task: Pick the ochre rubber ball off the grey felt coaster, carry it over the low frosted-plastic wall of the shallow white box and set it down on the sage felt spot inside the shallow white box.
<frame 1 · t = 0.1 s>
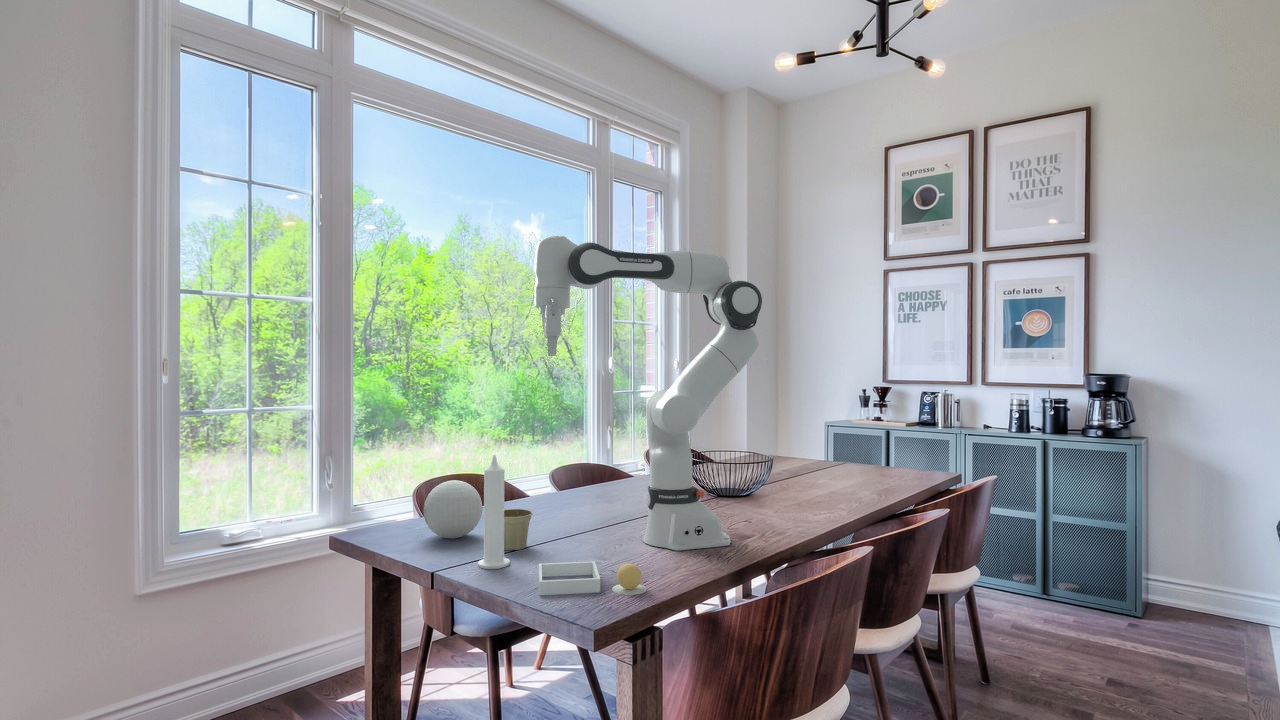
hand: (552, 355, 168), 48 cm above the table, fingers open, 8 cm apart
shallow white box: (568, 585, 137), on the table
decorative object: (453, 538, 175), on the table
coaster: (629, 590, 134), on the table
flower pot: (513, 548, 166), on the table
candle: (493, 565, 152), on the table
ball: (629, 588, 134), resting on coaster
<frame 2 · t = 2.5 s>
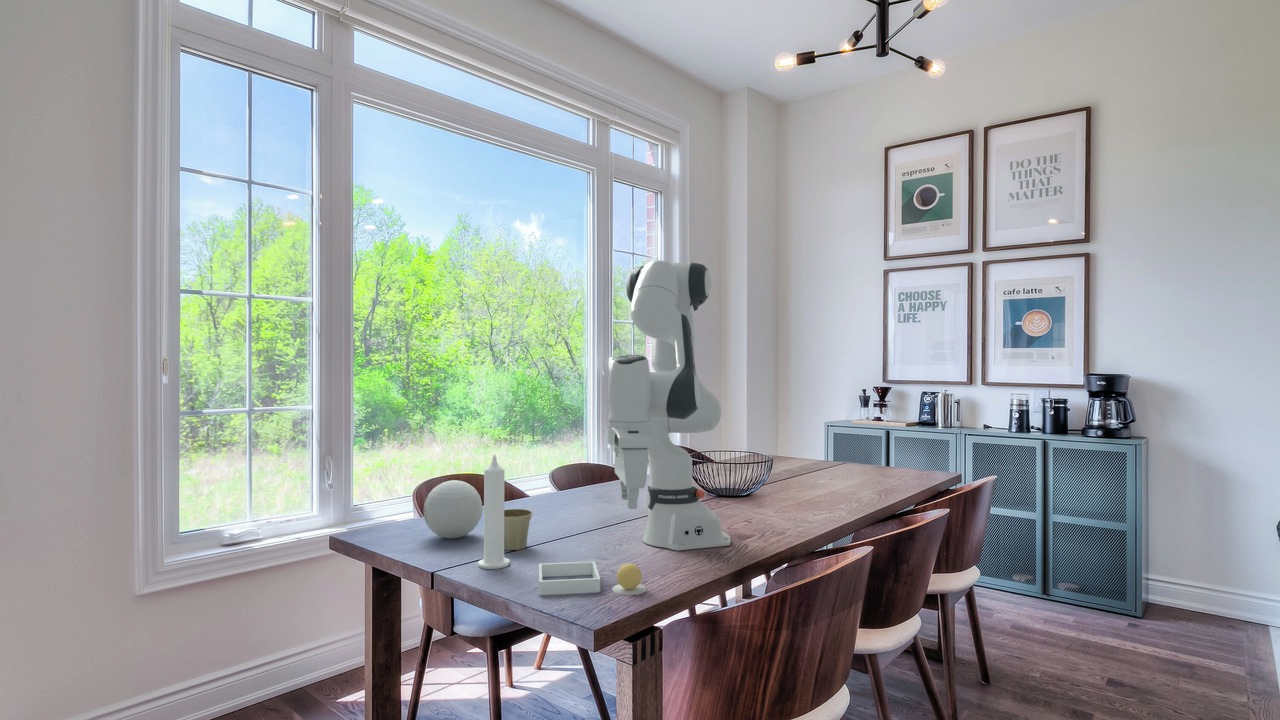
hand: (628, 503, 135), 18 cm above the table, fingers open, 8 cm apart
nothing on the table moved.
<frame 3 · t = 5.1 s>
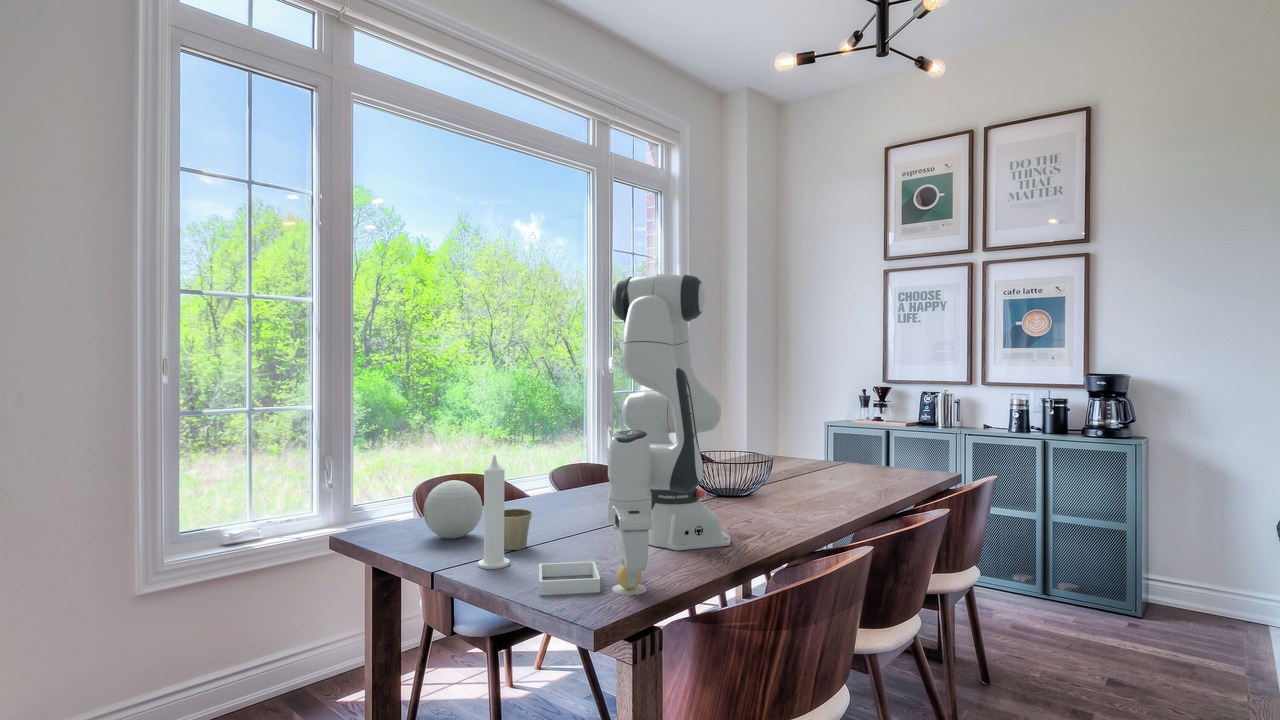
hand: (629, 580, 134), 2 cm above the table, fingers closed on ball, 5 cm apart
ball: (629, 588, 134), resting on coaster, touching gripper
everything else where it was.
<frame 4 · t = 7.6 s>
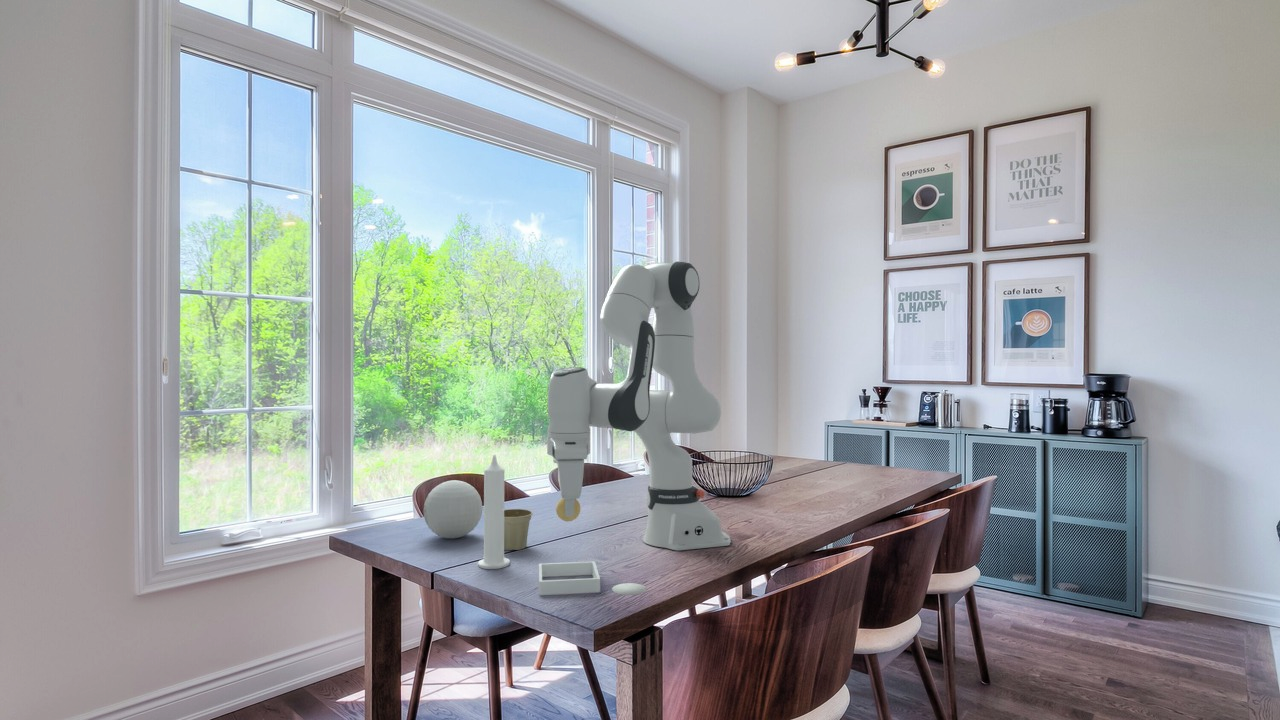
hand: (568, 512, 138), 15 cm above the table, fingers closed on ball, 5 cm apart
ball: (568, 521, 137), point 13 cm above the table, touching gripper
everything else where it was.
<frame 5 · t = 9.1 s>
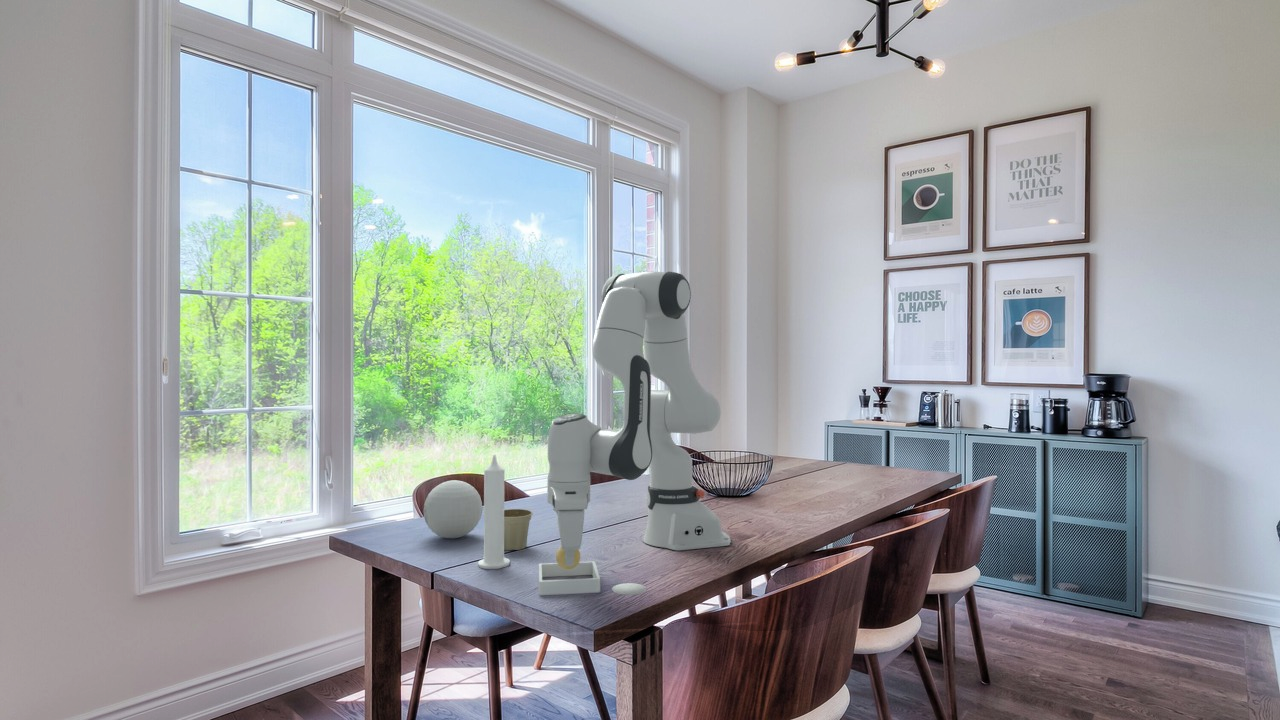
hand: (568, 560, 137), 5 cm above the table, fingers closed on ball, 5 cm apart
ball: (568, 568, 137), point 4 cm above the table, touching gripper
everything else where it was.
when the fingers open (3 cm above the table, at t = 10.4 s): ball drops 1 cm, resting on shallow white box.
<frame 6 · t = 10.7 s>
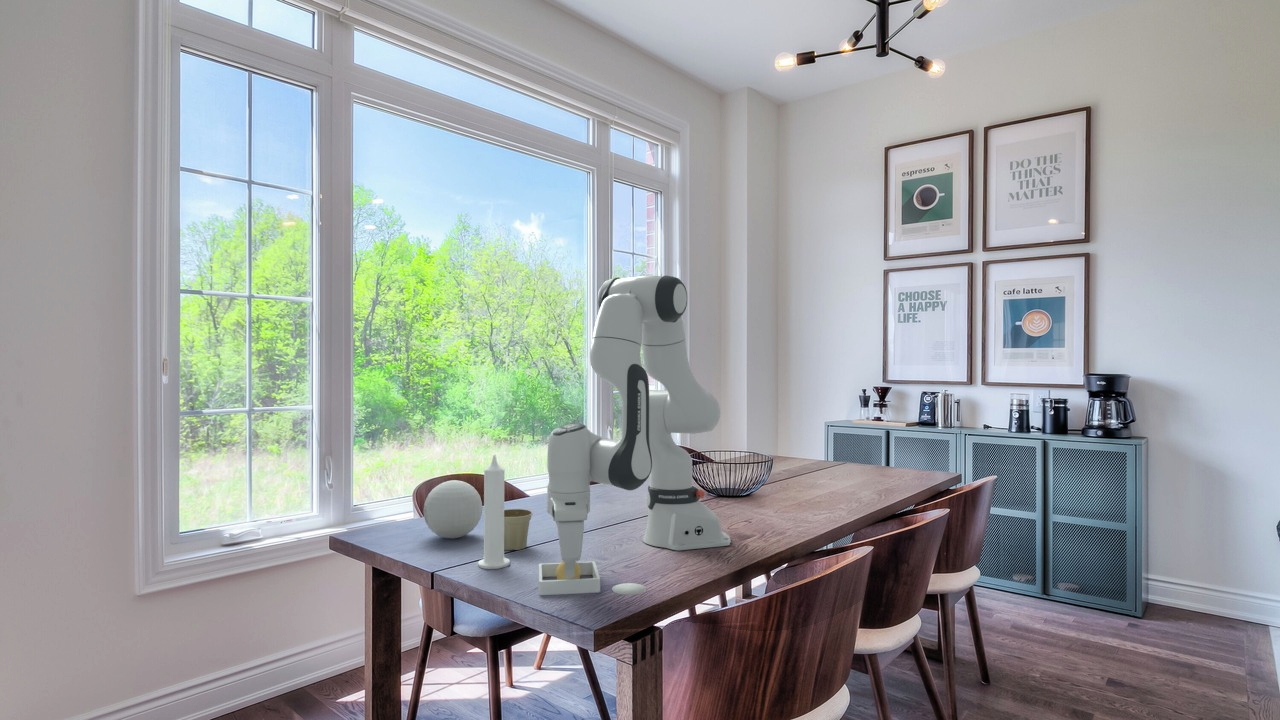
hand: (568, 570, 137), 3 cm above the table, fingers open, 8 cm apart
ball: (568, 584, 137), resting on shallow white box
everything else where it was.
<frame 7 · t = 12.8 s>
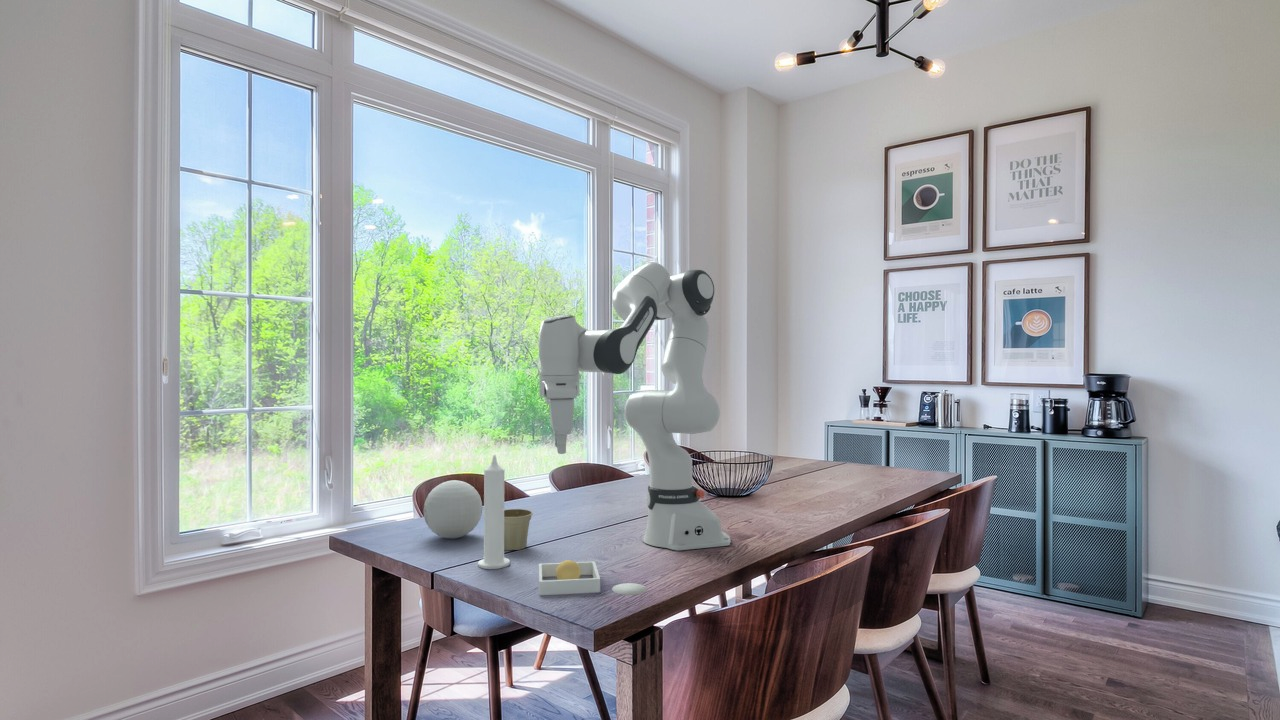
hand: (560, 450, 148), 27 cm above the table, fingers open, 8 cm apart
nothing on the table moved.
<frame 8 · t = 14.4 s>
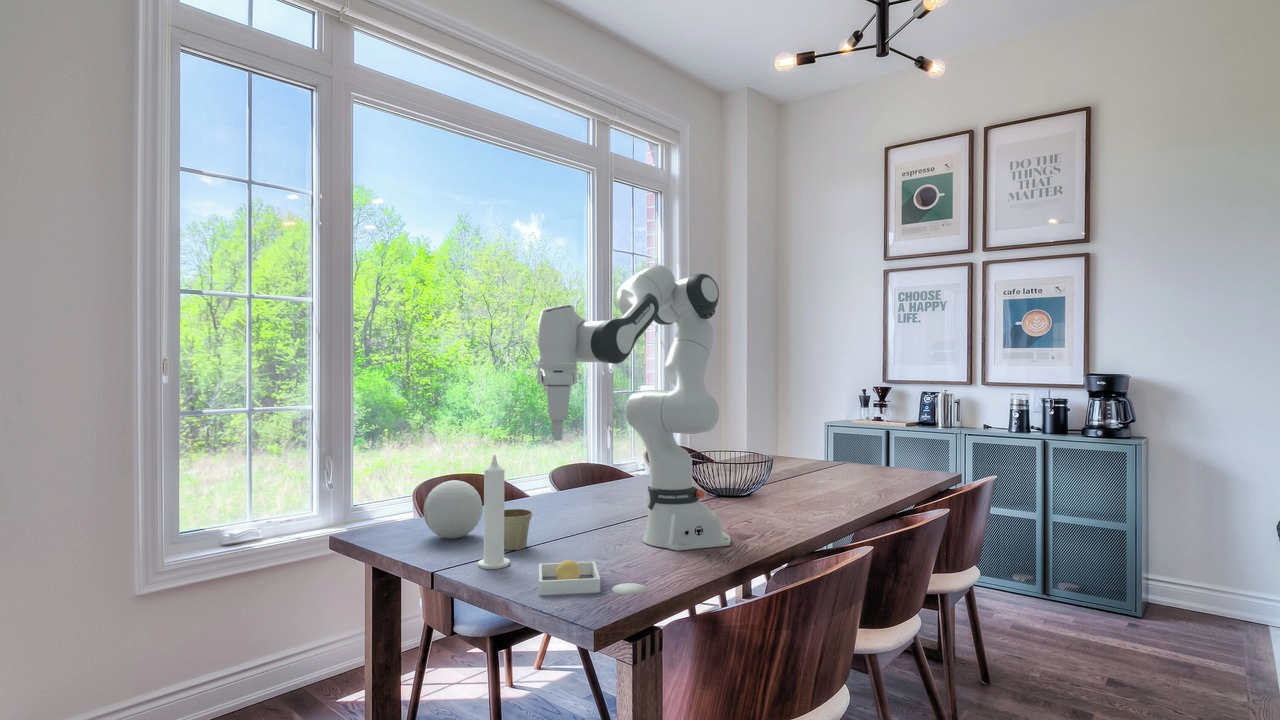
hand: (556, 437, 150), 29 cm above the table, fingers open, 8 cm apart
nothing on the table moved.
at the end: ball inside the target area on the shallow white box (0.0 cm from its centre), point 0.2 cm above the shallow white box's base; the gripper is holding nothing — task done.
